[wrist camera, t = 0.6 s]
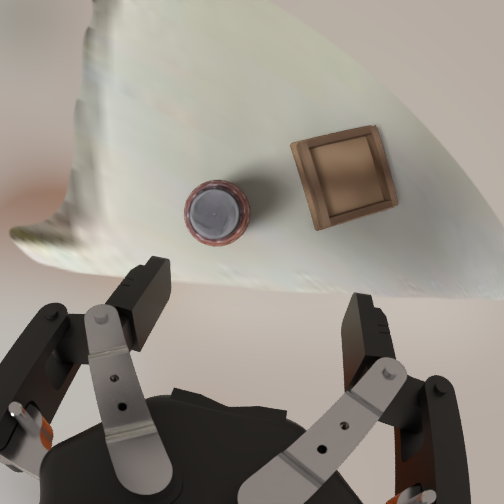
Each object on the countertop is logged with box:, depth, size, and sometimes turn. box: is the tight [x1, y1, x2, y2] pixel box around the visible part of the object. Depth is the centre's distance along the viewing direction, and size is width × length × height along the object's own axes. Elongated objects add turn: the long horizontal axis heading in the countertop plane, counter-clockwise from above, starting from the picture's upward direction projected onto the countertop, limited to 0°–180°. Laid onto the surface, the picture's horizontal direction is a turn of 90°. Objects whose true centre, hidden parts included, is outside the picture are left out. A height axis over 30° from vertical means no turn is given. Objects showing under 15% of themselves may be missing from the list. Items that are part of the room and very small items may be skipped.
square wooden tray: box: [290, 125, 398, 231], centre depth 35 cm, size 10×10×3 cm
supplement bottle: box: [184, 180, 250, 246], centre depth 31 cm, size 6×6×11 cm
